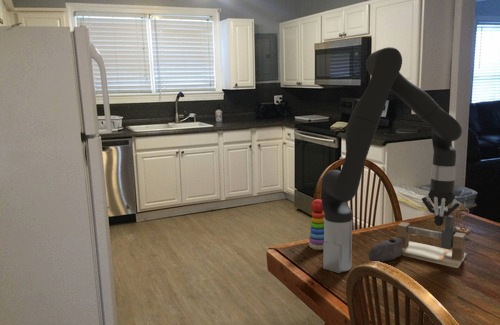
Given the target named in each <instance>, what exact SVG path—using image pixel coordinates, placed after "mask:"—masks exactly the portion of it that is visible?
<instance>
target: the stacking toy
mask: <svg viewBox="0 0 500 325" xmlns="http://www.w3.org/2000/svg"><path fill="white" fill-rule="evenodd" d="M311 210H312V212H311V216H312V217H311V218H310V220H311V221H310V232H309V238H308V240H309V242H308V246H309V247H310V248H311V249H313V250H317V251H318V250H319V251H321V250H322V251H323V243H324V212H323V209H322V198H321V199H319V198H316V199H313V201H312V202H311Z"/></svg>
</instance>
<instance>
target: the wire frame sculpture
mask: <svg viewBox="0 0 500 325" xmlns="http://www.w3.org/2000/svg"><path fill="white" fill-rule="evenodd" d="M453 212H455V213H453ZM453 212H452V213H451V214H449V215H452V216H454V221H456V220H458V221H457V222H456V223H454V226H455V227H456V232H457V233H463V234H466V235H468V234H470V233H471V230H470V229H467V227H466V225H465V224H464V221H463V217H467V215H468V216H469V213H470V210H469V208H465V205H464V204H463V203H461V205H460V206H459V207H457V208H456V209H455V210H454V211H453ZM462 213H466V214H465V215H463V214H462ZM460 214H462V215H461V216H460ZM449 215H448V216H449ZM456 216H457V217H456ZM460 217H461V218H460ZM459 221H460V222H461V223H462V226H461V223H460V222H459ZM457 225H458V226H457Z"/></svg>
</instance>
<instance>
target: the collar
mask: <svg viewBox="0 0 500 325" xmlns="http://www.w3.org/2000/svg"><path fill="white" fill-rule="evenodd" d="M454 216H455V215H454ZM454 216H452V215H448V216H447V217H446V218H444V228H442V230H441V232H442V238H441V239H440V241H441V242H440V248H444V249H449V250H452V247H453V241H452V234H453V235H454V234H455V233H456V227H457V226H456V227H455V226H454V225H455V220H454Z"/></svg>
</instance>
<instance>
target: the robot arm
mask: <svg viewBox="0 0 500 325" xmlns="http://www.w3.org/2000/svg"><path fill="white" fill-rule="evenodd" d="M402 65H403V56H402V54H401V52H400V51H399V49H397V48H396V47H393V46H392V47H390V46H388V47H383V48H380V49H378V50H376V51H374V52H372V53H371V54H369V56H368V57H367V60H366V61H365V67H366V70H367V72H368V74H369V75H370V76H371V77H370V78H369V81H368V85H367V87H366V88H365V91H364V92H363V94H362V96H361V97H360V98H359V100H358V101H357V103H356V104H355V106H354V107H353V110H352V112H351V114H350V117H349V120H348V122H347V125H346V128H345V133H344V134H345V141H344V142H345V158H344V161H343V164H342V166H341V170H339V169H331V170H329V171H327V172H326V173H325V174H324V176H323V178H322V180H321V189H320V190H321V200H322V209H323V212H324V243H323V250H322V251H323V254H322V255H323V256H322V257H323V258H322V259H323V260H322V261H323V262H322V268H323V270H327V271H329V272H333V273H337V274H341V273H345V272H347V271H350V270H351V269H352V258H353V257H352V255H353V254H352V253H353V252H352V251H353V250H352V248H353V246H352V244H353V210H352V209H351V208H350V206H349V205H348V202H350V201H351V200H352V199H353V198H354V197H355V196H356V195H357V192H358V190H359V187H360V182H361V179H362V174H363V170H364V167H365V163H366V161H367V157H368V154H369V151H370V148H371V146H372V143H373V140H374V138H375V135H376V132H377V129H378V127H379V123H380V121H381V118H382V115H383V112H384V110H385V107H386V104H387V100H388V98H389V94H390V92H392V93H393V94H395V95H396V96H397V97H398V98H399V99H400V100H401V101H402V102H403V103H404V104H406V106H408V107H409V109H410V110H412V112H413V113H414V114H415V115H416V116H417V117H418V118H419V119H420V120H421V121H423V123H426V124H427V125H429V126H430V127H432V128H431V141H432V150H433V156H432V167H431V173H430V184H429V185H430V186H429V187H430V188H429V192H428V194H427V195H425V196H423V197H422V198H421V201H422V203H423V204H424V206H425V207H426V209H427V210H428V211H429V213H432V214H433V215H434V222H433V223H434V225H435V226H437V227H441V226H442V225H444V224H445V217H446V216H447V217H448V216H449V214H451V213H452V214H453V212H455V211H454V210H456V209H457V208H460V207H459V206H462V205H461V201H458V200H457V199H456V196H455V193H454V192H455V184H456V183H455V180H456V161H457V151H456V149H455V148H454V147H453V142H455V141H458V140H459V138H461V136H462V133H463V128H462V126H461V124H460V123H459V122H458V120H457V119H455V118H454V117H453V116H452V115H451V114H450V113H448V112H447V111H445V110H444V109H443V108H442V107H441V106H440V105H439V104H438V103H437V102H436V100H434V99H433V98H432V96H431V95H430V94H428V93H427V92H426V91H425V90H423V89H422V88H420V87H419V86H418V85H416V84H414V83H413V82H411V81H410V80H408V78H406V77H405V76H403V74H402V73H401V72H400V71H401V70H402ZM431 202H432V203H431ZM450 204H451V207H450V208H449V209H448V210H447V208H448V206H449V205H450Z"/></svg>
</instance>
